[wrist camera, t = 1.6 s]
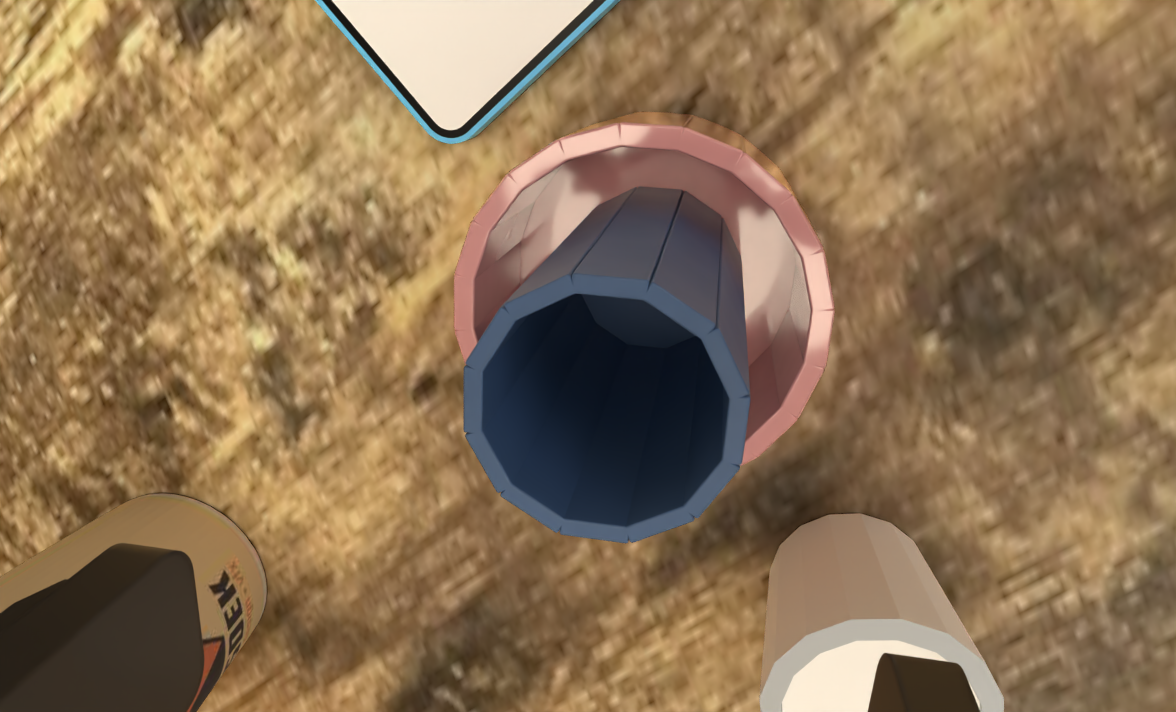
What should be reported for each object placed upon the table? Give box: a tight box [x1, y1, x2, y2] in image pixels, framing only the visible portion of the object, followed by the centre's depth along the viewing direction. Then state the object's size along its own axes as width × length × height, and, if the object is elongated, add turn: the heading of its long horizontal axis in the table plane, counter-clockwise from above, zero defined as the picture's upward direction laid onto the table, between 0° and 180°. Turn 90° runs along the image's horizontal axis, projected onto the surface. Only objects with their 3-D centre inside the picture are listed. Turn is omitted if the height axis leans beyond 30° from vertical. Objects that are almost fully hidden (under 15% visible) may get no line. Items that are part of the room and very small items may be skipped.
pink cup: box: [454, 111, 835, 466], centre depth 25 cm, size 10×10×6 cm
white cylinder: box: [759, 513, 1004, 712], centre depth 27 cm, size 7×7×7 cm
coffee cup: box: [0, 493, 267, 712], centre depth 30 cm, size 9×9×12 cm
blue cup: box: [464, 186, 751, 543], centre depth 22 cm, size 6×6×12 cm
